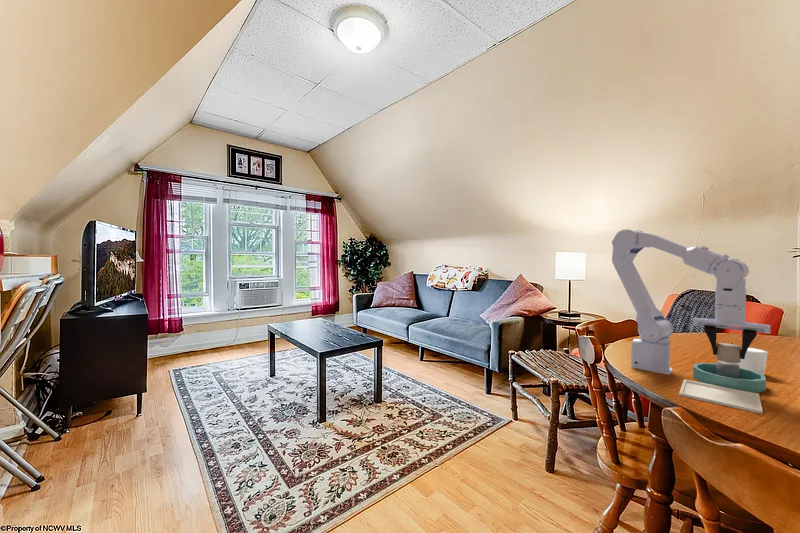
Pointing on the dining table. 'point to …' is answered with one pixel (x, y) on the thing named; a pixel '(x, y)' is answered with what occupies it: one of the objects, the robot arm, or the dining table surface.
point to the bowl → (746, 380)
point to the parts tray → (722, 396)
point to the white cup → (754, 360)
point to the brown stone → (728, 353)
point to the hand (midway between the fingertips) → (728, 356)
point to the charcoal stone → (727, 369)
